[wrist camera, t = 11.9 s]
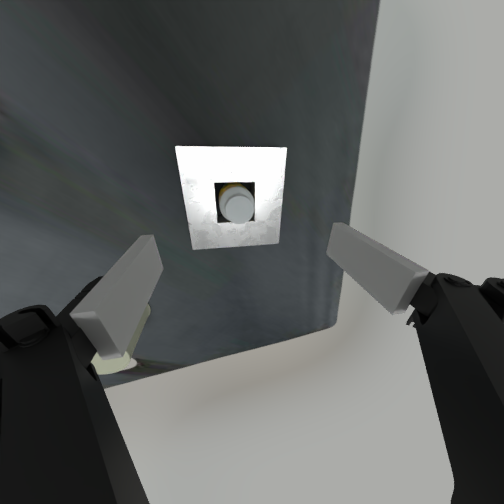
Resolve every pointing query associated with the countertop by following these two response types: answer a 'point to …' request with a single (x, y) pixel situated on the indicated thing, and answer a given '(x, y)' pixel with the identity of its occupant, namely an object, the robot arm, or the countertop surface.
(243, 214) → the supplement bottle
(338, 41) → the countertop surface
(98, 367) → the can
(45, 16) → the countertop surface
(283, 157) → the block with square hole
